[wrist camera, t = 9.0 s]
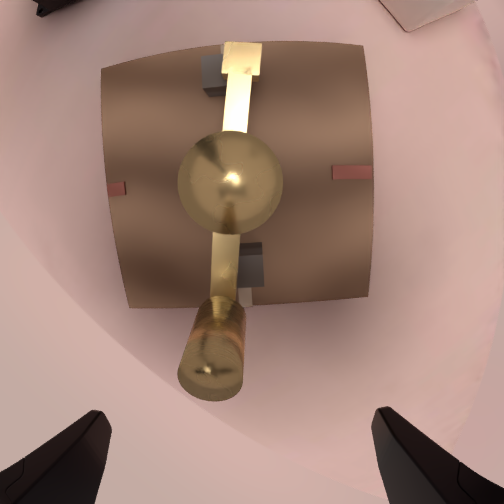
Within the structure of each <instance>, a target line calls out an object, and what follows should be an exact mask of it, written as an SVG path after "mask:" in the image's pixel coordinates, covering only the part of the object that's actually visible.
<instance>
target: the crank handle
mask: <svg viewBox="0 0 504 504" xmlns="http://www.w3.org/2000/svg"><path fill="white" fill-rule="evenodd" d="M261 54H262V44H261V43H247V42H225V47H224V55H223V63H222V72H221V74H222V76H223V78H224V80H228V81H227V91H226V101H225V111H224V122H223V131H220V132H216V133H213V134H210V135H208V136H206V137H204V138H202V139H201V140H199V141H198V142H197V143H195V144H194V145H193V146H192V147H191V148H190V150H189V151H188V152H187V154H186V155H185V157H184V159H183V161H182V163H181V166H180V169H179V173H178V193H179V196H180V200H181V202H182V205H183V207H184V208H185V210H186V212H187V213H188V214H189V216H190V217H191V218H192V219H193V220H194V221H195V222H196V223H198V224H199V225H200V226H202V227H204V228H205V229H207V230H210V231H212V232H213V243H212V264H211V289H210V298H208V299H207V300H205V301H204V302H203V303H202V304H201V306H200V307H199V310H198V313H197V315H196V318H195V321H194V324H193V327H192V330H191V333H190V336H189V339H188V342H187V345H186V348H185V350H184V353H183V356H182V359H181V362H180V365H179V368H178V380H179V382H180V384H181V386H182V387H183V388H184V389H185V390H186V391H187V392H188V393H189V394H191V395H192V396H194V397H196V398H199V399H202V400H206V401H223V400H227V399H229V398H232V397H233V396H235V395H236V394H237V393H238V392H239V391H240V389H241V387H242V383H243V367H244V349H245V331H246V313H245V310H244V308H243V307H242V306H241V304H240V303H239V302H237V301H236V290H237V276H238V263H239V250H240V238H241V233H246V232H248V231H251V230H253V229H255V228H257V227H259V226H260V225H262V224H263V223H264V222H265V221H266V220H268V219H269V217H270V216H271V215H272V214H273V213H274V211H275V209H276V208H277V206H278V204H279V202H280V199H281V195H282V190H283V174H282V170H281V166H280V164H279V161H278V159H277V157H276V156H275V154H274V153H273V151H272V150H271V149H270V148H269V147H268V146H267V145H266V144H265V143H264V142H263V141H262V140H260V139H258V138H257V137H255V136H253V135H251V134H248V133H247V129H248V118H249V108H250V97H251V87H252V82H259V74H260V64H261Z"/></svg>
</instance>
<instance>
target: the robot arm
mask: <svg viewBox="0 0 504 504" xmlns="http://www.w3.org/2000/svg"><path fill="white" fill-rule="evenodd" d="M33 1H34V2H36V3H38V8H37V13H36V15H37V16H39V17H43V16H45V15H47V14H48V13H50V12H52V11H54V10H56V9H58V8H61V7H63V6H65V5H67V4H69V3H71V2H74V1H76V0H33ZM371 429H372V435H373V440H374V445H375V451H376V456H377V462H378V467H379V470H380V474H381V477H382V480H383V483H384V487H385V490H386V493H387V497H388V500H389V503H390V504H504V488H503V487H500V486H499V485H497V484H495V483H493V482H491V481H489V480H487V479H486V478H484V477H482V476H480V475H479V474H477V473H476V472H474V471H473V470H471V469H470V468H468V467H467V466H466V465H465V464H463V463H462V462H460V463H459V460H458V459H456V458H455V457H454V456H452V455H451V454H450V453H448V452H447V451H446V450H444V449H443V448H442V447H440V446H439V445H438V444H437V443H435V442H434V441H433V440H431V439H430V438H429V437H427V436H426V435H425V434H424V433H422V432H421V431H420V430H418V429H417V428H416V427H415V426H413V425H412V424H411V423H410V422H408V421H407V420H406V419H404V418H403V417H402V416H401V415H399V414H398V413H397V412H396V411H394V410H393V409H392V408H391V407H388V406H386V407H381V408H378V409H377V410H376V411H375V415H374V418H373V421H372V425H371ZM111 433H112V429H111V425H110V423H109V421H108V420H107V418H106V416H105V414H104V413H103V412H102V411H98V410H91V411H90V412H88V413H87V414H86V415H84V416H83V417H81V418H80V419H78V420H77V421H76V422H74V423H73V424H71V425H70V426H69V427H67V428H66V429H65V430H63V431H62V432H60V433H59V434H57V435H56V436H55V437H53V438H52V439H50V440H49V441H47V442H46V443H44V444H43V445H41V446H40V447H39V448H37V449H36V450H34V451H33V452H31V453H30V454H28V455H27V456H25V458H22V459H21V460H19V461H18V462H16V463H15V464H13V465H12V466H10V467H8V468H7V469H5V470H3V471H1V472H0V504H95V500H96V496H97V493H98V489H99V486H100V482H101V479H102V475H103V472H104V469H105V464H106V460H107V453H108V448H109V443H110V437H111Z"/></svg>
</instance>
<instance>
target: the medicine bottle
mask: <svg viewBox="0 0 504 504" xmlns="http://www.w3.org/2000/svg"><path fill="white" fill-rule="evenodd" d="M380 1H381V2H382V3H383V5H384V6H385V7H386V8H387V9H388V10H389V11H390V13H391V14H392V15H393V16H394V17H395V19H396V20H397V21H398V22H399V24H400V25H401V26H402V27H403V29H404V30H405V31H407V32H410V31H413V30H415V29H417V28H419V27H421V26H424V25H426V24H428V23H430V22H433V21H435V20H437V19H440V18H442V17H444V16H447V15H449V14H452V13H454V12H457V11H459V10H461V9H462V8H464V7H466V6H468V5H469V4H471V3H473V2H475V1H477V0H380Z"/></svg>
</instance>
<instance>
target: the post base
mask: <svg viewBox="0 0 504 504" xmlns="http://www.w3.org/2000/svg"><path fill="white" fill-rule="evenodd" d="M247 43H261V44H262V54H261V64H260V74H259V82H252V87H251V97H250V108H249V118H248V129H247V133H248V134H251V135H253V136H255V137H257V138H258V139H260V140H262V141H263V142H264V143H265V144H266V145H267V146H268V147H269V148H270V149H271V150H272V151H273V153H274V154H275V156H276V157H277V159H278V161H279V164H280V166H281V170H282V174H283V190H282V195H281V199H280V202H279V204H278V206H277V208H276V209H275V211H274V213H273V214H272V215H271V216H270V217H269V219H268V220H266V221H265V222H264V223H263V224H262V225H260V226H259V227H257V228H255V229H253V230H251V231H248V232H246V233H241V238H240V250H239V263H238V276H237V290H236V301H237V302H239V303H240V304H241V306H242V307H253V305H268V304H285V303H300V302H313V301H326V300H338V299H349V298H359V297H368V292H369V281H370V269H371V255H372V237H373V205H374V171H373V140H372V123H371V109H370V97H369V87H368V78H367V70H366V62H365V55H364V48H363V46H361V45H352V44H342V43H329V42H309V41H265V42H247ZM224 47H225V44H222V45H213V46H205V47H197V48H191V49H184V50H178V51H173V52H167V53H162V54H157V55H153V56H148V57H144V58H140V59H135V60H131V61H128V62H124V63H120V64H116V65H113V66H109V67H106V68H103V69H101V115H102V136H103V150H104V162H105V173H106V182H107V191H108V198H109V206H110V213H111V219H112V226H113V232H114V238H115V243H116V249H117V254H118V259H119V264H120V269H121V274H122V278H123V283H124V287H125V291H126V296H127V300H128V304H129V308H197V307H200V306H201V304H202V303H203V302H204V301H205V300H207V299H208V298H210V289H211V264H212V243H213V232H212V231H210V230H207V229H205V228H204V227H202V226H200V225H199V224H198V223H196V222H195V221H194V220H193V219H192V218H191V217H190V216H189V214H188V213H187V212H186V210H185V208H184V207H183V205H182V202H181V200H180V196H179V193H178V173H179V169H180V166H181V163H182V161H183V159H184V157H185V155H186V154H187V152H188V151H189V150H190V148H191V147H192V146H193V145H194V144H195V143H197V142H198V141H199V140H201V139H202V138H204V137H206V136H208V135H210V134H213V133H216V132H220V131H223V122H224V111H225V101H226V91H227V81H228V80H224V78H223V76H222V74H221V72H222V63H223V55H224Z"/></svg>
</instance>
